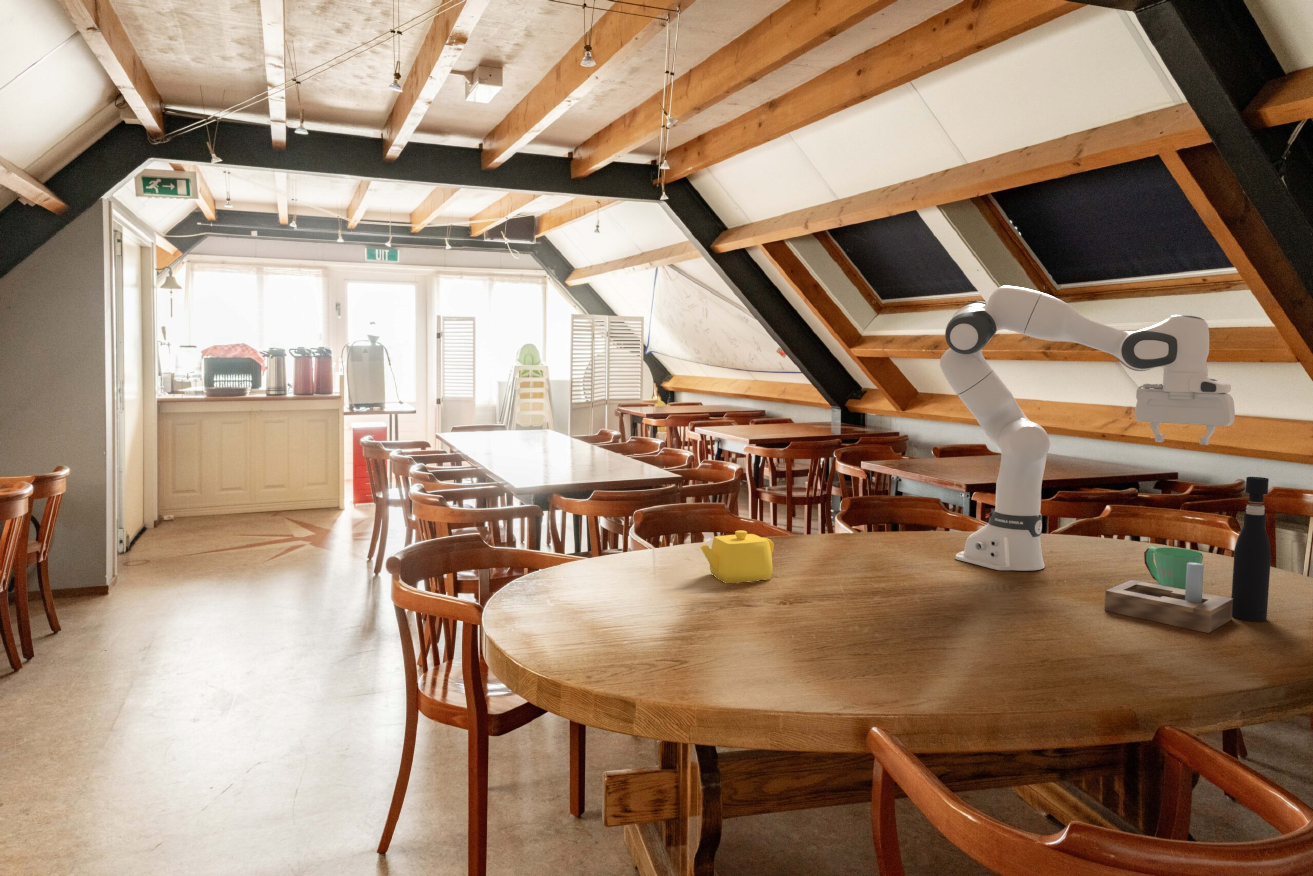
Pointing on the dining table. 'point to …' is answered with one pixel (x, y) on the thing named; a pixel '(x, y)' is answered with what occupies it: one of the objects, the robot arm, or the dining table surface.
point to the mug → (1170, 565)
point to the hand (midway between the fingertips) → (1181, 443)
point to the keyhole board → (1168, 606)
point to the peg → (1194, 582)
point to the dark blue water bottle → (1252, 558)
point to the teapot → (740, 557)
